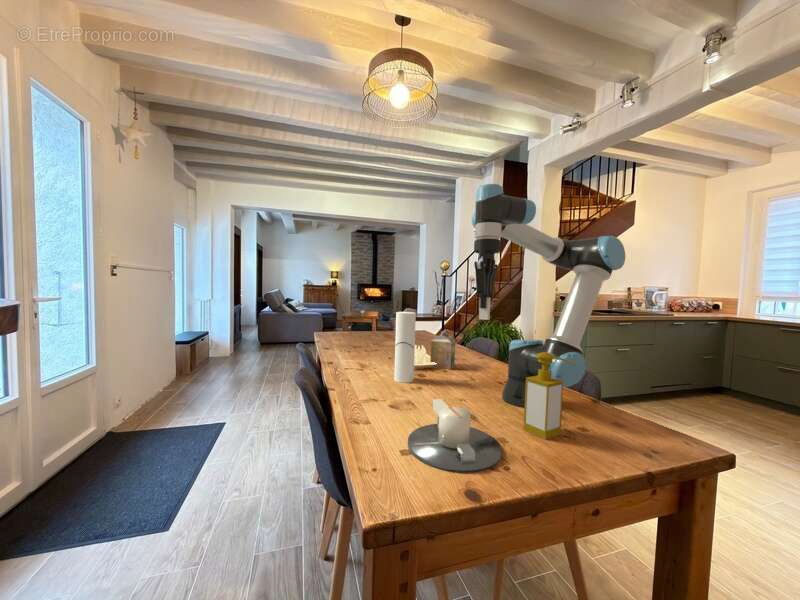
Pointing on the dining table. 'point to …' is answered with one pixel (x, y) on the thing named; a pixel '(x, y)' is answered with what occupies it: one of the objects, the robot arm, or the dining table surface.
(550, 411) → the soap bottle
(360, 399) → the dining table surface
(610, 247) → the robot arm
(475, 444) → the post base
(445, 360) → the milk carton
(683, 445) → the dining table surface
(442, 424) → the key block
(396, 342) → the container
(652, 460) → the dining table surface
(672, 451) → the dining table surface
